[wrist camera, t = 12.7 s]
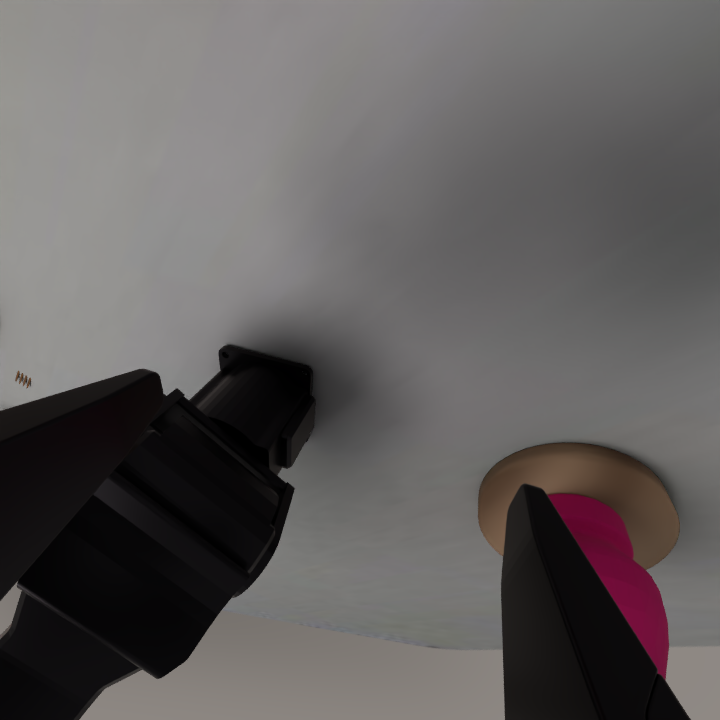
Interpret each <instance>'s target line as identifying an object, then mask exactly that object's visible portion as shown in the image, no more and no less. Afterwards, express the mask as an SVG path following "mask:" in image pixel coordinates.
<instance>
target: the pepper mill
mask: <svg viewBox="0 0 720 720" xmlns="http://www.w3.org/2000/svg"><path fill="white" fill-rule="evenodd" d="M548 497H549V499H550V500H551V502H552V503H553V505H554V506H555V508H556V510H557V511H558V513H559V514H560V516H561V517H562V519H563V521H564V522H565V524H566V525H567V527H568V528H569V530H570V532H571V533H572V535H573V536H574V538H575V539H576V541H577V543H578V544H579V546H580V547H581V549H582V550H583V552H584V554H585V555H586V557H587V558H588V560H589V561H590V563H591V565H592V566H593V568H594V569H595V571H596V572H597V574H598V576H599V577H600V579H601V580H602V582H603V583H604V585H605V587H606V588H607V590H608V591H609V593H610V594H611V596H612V598H613V599H614V601H615V602H616V604H617V605H618V607H619V609H620V610H621V612H622V613H623V615H624V617H625V618H626V620H627V621H628V623H629V624H630V626H631V628H632V629H633V631H634V632H635V634H636V635H637V637H638V639H639V640H640V642H641V643H642V645H643V646H644V648H645V650H646V651H647V653H648V654H649V656H650V657H651V659H652V661H653V662H654V664H655V665H656V667H657V669H658V674H661V675H662V676H663V678H664V679H665V678H666V668H667V660H668V650H669V639H668V622H667V617H666V613H665V609H664V606H663V602H662V598H661V594H660V591H659V589H658V587H657V585H656V584H655V582H654V580H653V579H652V577H651V576H650V575H649V573H648V572H647V571H646V570H645V569H644V568H643V567H642V566H640V565H639V564H638V563H637V562H636V561H634V560H633V558H634V552H633V547H632V544H631V541H630V538H629V535H628V532H627V529H626V526H625V524H624V521H623V520H622V518H621V517H620V516H619V515H618V514H617V513H616V512H615V511H614V510H613V509H612V508H610V507H609V506H607V505H605V504H603V503H602V502H600V501H598V500H596V499H593V498H589V497H585V496H581V495H578V494H562V493H561V494H551V495H548Z"/></svg>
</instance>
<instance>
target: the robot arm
mask: <svg viewBox="0 0 720 720" xmlns="http://www.w3.org/2000/svg"><path fill="white" fill-rule="evenodd" d="M226 352H227V353H228V355H227V354H226ZM219 361H220V370H221V371H220V372H219V373H218V374H217V375H215V376H214V377H213V378H212V379H211V380H210V381H209V382H208V383H207V384H206V385H205V386H204V387H203V388H202V389H201V390H200V391H199V392H197V393H196V394H195V395H194V396H193V397H192V398H191V399H190V400H188V399H186V398H185V397H184V394H183V393H182V392H181V391H180V390H179V389H177V388H176V389H175V390H174V391H173V392H171V393H170V394H169V395H167V396H166V395H165V394H163V389H162V384H161V379H160V376H159V374H158V373H156V372H154V371H150V370H147V369H138V370H135V371H131V372H128V373H125V374H121V375H118V376H115V377H111V378H108V379H105V380H101V381H98V382H95V383H92V384H88V385H85V386H82V387H78V388H75V389H72V390H68V391H65V392H62V393H58V394H55V395H52V396H48V397H45V398H42V399H38V400H35V401H32V402H28V403H25V404H22V405H18V406H15V407H12V408H8V409H5V410H2V411H0V601H1V599H2V598H3V597H4V596H5V595H6V594H7V593H8V591H9V590H10V589H11V588H12V587H13V586H14V585H15V583H16V582H17V581H18V583H17V587H18V588H19V589H20V590H22V592H21V595H20V598H19V602H18V605H17V608H16V612H15V615H14V618H13V621H12V624H11V625H10V626H9V627H8V628H7V629H6V630H5V631H4V632H3V633H2V634H1V635H0V720H79V719H80V718H81V717H82V715H83V714H84V713H85V712H86V710H87V709H88V708H89V707H90V705H91V704H92V703H93V702H94V701H95V699H96V698H97V697H98V696H99V695H100V694H101V692H102V691H103V690H104V689H105V688H107V687H109V686H111V685H113V684H115V683H117V682H119V681H121V680H123V679H125V678H127V677H129V676H131V675H133V674H135V673H136V672H138V671H140V670H144V671H146V672H147V673H149V674H150V675H152V676H153V677H155V678H156V679H159V678H162V677H163V676H165V675H167V674H168V673H169V672H171V671H172V670H174V669H175V668H177V667H178V666H179V665H181V664H182V663H184V662H185V661H186V660H187V659H188V658H189V656H190V655H191V653H192V652H193V650H194V649H195V647H196V646H197V644H198V643H199V642H200V640H201V638H202V637H203V636H204V634H205V632H206V631H207V629H208V628H209V627H210V625H211V624H212V622H213V621H214V620H215V618H216V617H217V615H218V614H219V613H220V611H221V610H222V609H223V608H224V606H225V605H226V604H227V603H228V601H229V600H230V599H231V598H234V597H237V596H239V595H240V594H242V593H243V592H244V591H245V590H247V589H248V588H249V587H250V586H251V585H252V584H253V583H254V581H255V580H256V579H257V578H258V577H259V575H260V574H261V573H262V571H263V570H264V569H265V567H266V566H267V564H268V563H269V561H270V559H271V558H272V556H273V554H274V552H275V550H276V548H277V546H278V543H279V540H280V537H281V534H282V531H283V527H284V524H285V520H286V517H287V513H288V510H289V506H290V503H291V500H292V496H293V493H294V489H295V488H294V487H293V486H291V485H290V484H289V483H288V482H287V483H285V482H284V481H283V480H282V479H281V478H280V477H278V476H277V475H278V473H279V472H280V470H281V468H286V469H288V468H290V467H292V465H293V463H294V462H295V460H296V458H297V456H298V454H299V453H300V451H301V449H302V447H303V445H304V444H305V442H307V441H308V439H309V437H310V433H311V431H312V429H313V428H314V419H315V398H314V396H312V383H313V371H312V369H311V368H310V367H309V366H307V365H304V364H300V363H296V362H292V361H288V360H284V359H280V358H276V357H272V356H268V355H264V354H260V353H256V352H251V351H247V350H243V349H239V348H235V347H231V346H223V347H222V348H221V349H220V350H219ZM302 371H304V372H306V374H307V375H305V374H304V373H303V372H302ZM501 604H502V637H503V668H504V669H503V670H504V701H505V720H691V719H690V718H689V716H688V715H687V713H686V712H685V710H684V709H683V707H682V706H681V704H680V703H679V701H678V700H677V698H676V696H675V695H674V693H673V692H672V690H671V689H670V687H669V686H668V684H667V682H666V681H665V679H664V678H663V676H662V675H661V674H658V669H657V667H656V665H655V664H654V662H653V661H652V659H651V657H650V656H649V654H648V653H647V651H646V650H645V648H644V646H643V645H642V643H641V642H640V640H639V639H638V637H637V635H636V634H635V632H634V631H633V629H632V628H631V626H630V624H629V623H628V621H627V620H626V618H625V617H624V615H623V613H622V612H621V610H620V609H619V607H618V605H617V604H616V602H615V601H614V599H613V598H612V596H611V594H610V593H609V591H608V590H607V588H606V587H605V585H604V583H603V582H602V580H601V579H600V577H599V576H598V574H597V572H596V571H595V569H594V568H593V566H592V565H591V563H590V561H589V560H588V558H587V557H586V555H585V554H584V552H583V550H582V549H581V547H580V546H579V544H578V543H577V541H576V539H575V538H574V536H573V535H572V533H571V532H570V530H569V528H568V527H567V525H566V524H565V522H564V521H563V519H562V517H561V516H560V514H559V513H558V511H557V510H556V508H555V506H554V505H553V503H552V502H551V500H550V499H549V497H548V495H547V494H546V492H545V491H544V490H543V489H542V488H540V487H537V486H533V485H530V484H527V483H524V484H522V485H521V486H520V487H519V489H518V491H517V493H516V494H515V496H514V498H513V500H512V502H511V503H510V505H509V508H508V512H507V519H506V531H505V543H504V554H503V566H502V579H501Z"/></svg>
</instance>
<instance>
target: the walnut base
mask: <svg viewBox="0 0 720 720" xmlns="http://www.w3.org/2000/svg"><path fill="white" fill-rule="evenodd" d="M524 483H527V484H530V485H533V486H537V487H540V488H542V489H543V490H544V491H545V492H546V494H547V495H551V494H561V493H562V494H578V495H581V496H585V497H589V498H593V499H596V500H598V501H600V502H602V503H603V504H605V505H607V506H609V507H610V508H612V509H613V510H614V511H615V512H616V513H617V514H618V515H619V516H620V517H621V518H622V520H623V521H624V524H625V526H626V529H627V532H628V535H629V538H630V541H631V544H632V547H633V552H634V558H633V560H634V561H636V562H637V563H638V564H639V565H640V566H642V567H643V568H644V569H645V570H647V569H649V568H651V567H653V566H654V565H656V564H657V563H659V562H660V561H661V560H662V559H664V558H665V557H666V556H667V555H668V554H669V553H670V551H671V550H672V549H673V547H674V546H675V544H676V542H677V539H678V536H679V529H680V523H679V518H678V514H677V512H676V510H675V508H674V506H673V504H672V502H671V500H670V498H669V496H668V493H667V491H666V489H665V487H664V485H663V484H662V482H661V481H660V480H659V478H658V477H657V476H656V475H655V474H654V473H653V472H652V471H651V470H650V469H649V468H647V467H646V466H645V465H643V464H642V463H641V462H639V461H637V460H635V459H633V458H632V457H630V456H628V455H625V454H623V453H620V452H618V451H615V450H612V449H608V448H605V447H601V446H596V445H591V444H581V443H553V444H545V445H539V446H535V447H531V448H527V449H524V450H521V451H519V452H516V453H514V454H512V455H510V456H508V457H506V458H504V459H503V460H501V461H500V462H499V463H497V464H496V465H495V466H494V467H493V468H492V469H491V470H490V471H489V472H488V473H487V475H486V476H485V477H484V479H483V481H482V483H481V486H480V490H479V498H478V519H479V525H480V528H481V531H482V533H483V535H484V537H485V538H486V540H487V541H488V543H489V544H490V545H491V546H492V547H493V548H494V549H495V550H496V551H497V552H498V553H499V554H500V555H502V556H503V554H504V543H505V531H506V519H507V512H508V508H509V505H510V503H511V502H512V500H513V498H514V496H515V494H516V493H517V491H518V489H519V487H520V486H521V485H522V484H524Z"/></svg>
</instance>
